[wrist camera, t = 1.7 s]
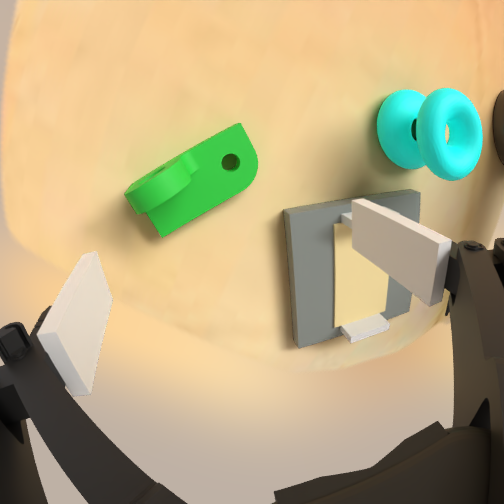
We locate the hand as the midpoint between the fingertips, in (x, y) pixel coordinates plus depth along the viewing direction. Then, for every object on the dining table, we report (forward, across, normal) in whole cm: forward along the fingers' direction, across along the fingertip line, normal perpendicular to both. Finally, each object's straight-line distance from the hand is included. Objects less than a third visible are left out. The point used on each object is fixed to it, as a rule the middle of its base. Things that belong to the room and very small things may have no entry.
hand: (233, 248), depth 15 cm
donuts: (+18, -25, -4) cm, 31 cm away
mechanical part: (+18, 0, -1) cm, 18 cm away
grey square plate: (+18, -17, +13) cm, 28 cm away
